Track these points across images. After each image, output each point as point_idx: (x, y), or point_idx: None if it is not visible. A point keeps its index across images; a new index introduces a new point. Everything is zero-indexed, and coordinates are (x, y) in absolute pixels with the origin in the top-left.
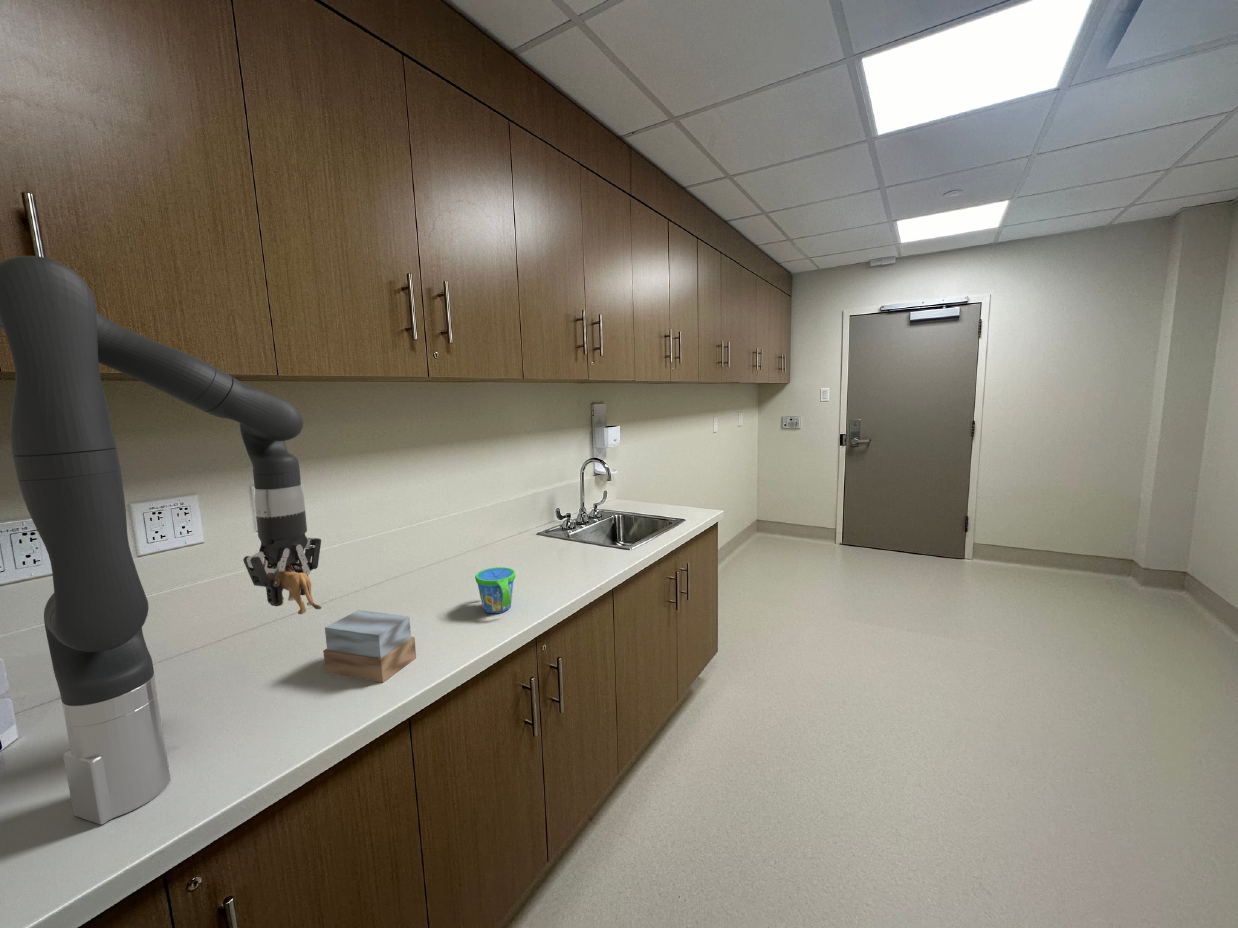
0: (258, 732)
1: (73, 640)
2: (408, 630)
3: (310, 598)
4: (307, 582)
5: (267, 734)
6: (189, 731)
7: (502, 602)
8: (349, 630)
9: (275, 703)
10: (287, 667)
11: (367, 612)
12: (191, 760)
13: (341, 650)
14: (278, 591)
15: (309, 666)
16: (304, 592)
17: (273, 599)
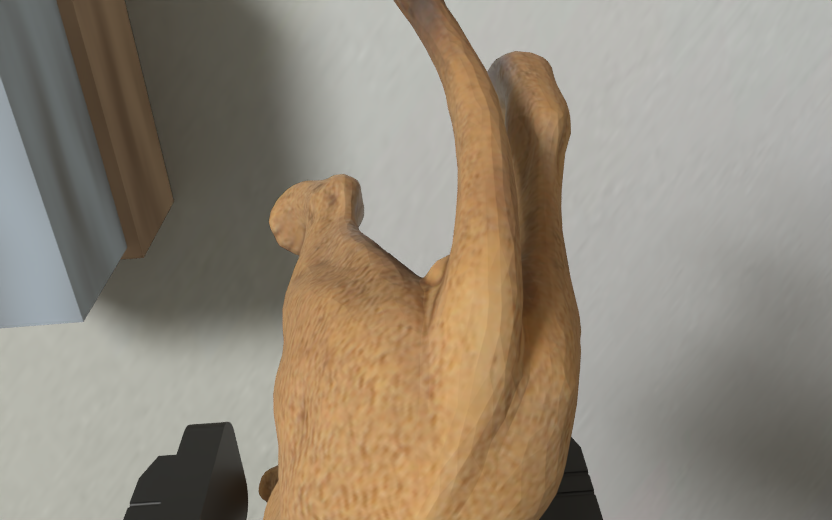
0: (595, 55)
1: None
2: None
3: (458, 68)
4: (396, 289)
5: (597, 2)
6: (644, 303)
7: None
8: (13, 135)
9: (426, 184)
10: (227, 381)
11: None
12: (775, 131)
13: (96, 154)
14: (550, 511)
15: (177, 311)
16: (223, 439)
17: (579, 466)
